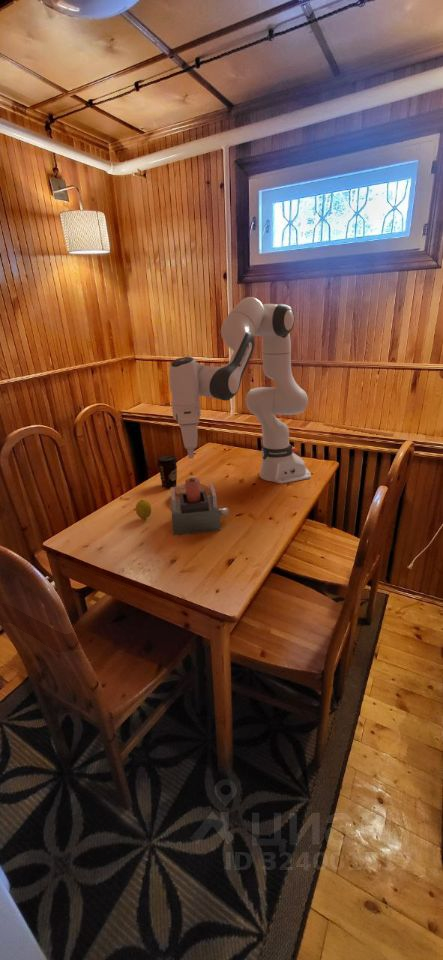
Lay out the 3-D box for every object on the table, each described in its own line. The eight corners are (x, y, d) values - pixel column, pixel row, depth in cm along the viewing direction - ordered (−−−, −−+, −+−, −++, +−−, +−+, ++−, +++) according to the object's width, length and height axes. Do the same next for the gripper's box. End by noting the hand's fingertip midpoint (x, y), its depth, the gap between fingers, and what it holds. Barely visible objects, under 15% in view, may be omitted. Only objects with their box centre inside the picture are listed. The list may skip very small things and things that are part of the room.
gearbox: (226, 513, 152) (224, 481, 147) (231, 529, 141) (230, 495, 136) (172, 518, 150) (169, 486, 145) (173, 535, 139) (170, 501, 134)
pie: (163, 500, 164) (162, 489, 162) (191, 487, 174) (190, 477, 172) (190, 512, 154) (189, 500, 152) (218, 497, 165) (217, 486, 163)
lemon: (155, 516, 152) (152, 497, 149) (147, 523, 147) (145, 503, 144) (141, 514, 154) (139, 495, 150) (134, 521, 149) (131, 502, 146)
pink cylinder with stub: (200, 500, 145) (198, 475, 141) (201, 506, 140) (199, 481, 136) (179, 502, 144) (176, 477, 140) (179, 508, 139) (177, 483, 135)
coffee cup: (181, 482, 180) (179, 454, 175) (177, 490, 173) (175, 461, 168) (162, 482, 181) (159, 454, 176) (157, 489, 174) (154, 461, 169)
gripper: (175, 404, 138) (178, 443, 144) (178, 420, 119) (182, 464, 125) (193, 403, 139) (196, 442, 144) (199, 419, 120) (202, 462, 126)
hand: (189, 452), depth 135 cm, fingers open, 8 cm apart
